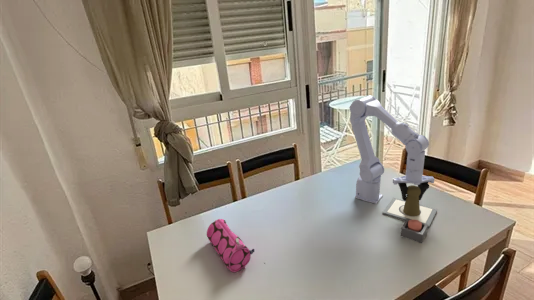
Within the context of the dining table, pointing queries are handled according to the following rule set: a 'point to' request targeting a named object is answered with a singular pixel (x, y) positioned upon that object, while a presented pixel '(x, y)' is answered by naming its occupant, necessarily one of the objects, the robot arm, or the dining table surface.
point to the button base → (413, 232)
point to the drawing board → (397, 212)
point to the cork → (412, 201)
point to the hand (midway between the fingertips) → (411, 199)
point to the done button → (415, 225)
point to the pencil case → (228, 246)
